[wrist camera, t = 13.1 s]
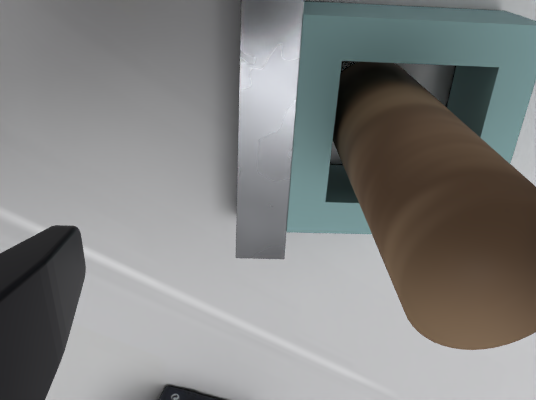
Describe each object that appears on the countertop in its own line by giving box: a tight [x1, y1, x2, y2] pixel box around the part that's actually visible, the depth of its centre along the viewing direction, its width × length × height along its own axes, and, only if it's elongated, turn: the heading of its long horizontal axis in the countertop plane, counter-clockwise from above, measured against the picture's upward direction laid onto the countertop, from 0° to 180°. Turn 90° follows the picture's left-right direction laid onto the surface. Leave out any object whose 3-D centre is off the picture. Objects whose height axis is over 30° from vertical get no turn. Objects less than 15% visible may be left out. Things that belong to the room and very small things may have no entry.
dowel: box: [333, 62, 536, 350], centre depth 16 cm, size 4×4×12 cm
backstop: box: [236, 0, 304, 259], centre depth 20 cm, size 2×11×4 cm, turn 177°
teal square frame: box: [286, 1, 536, 234], centre depth 20 cm, size 8×8×4 cm
